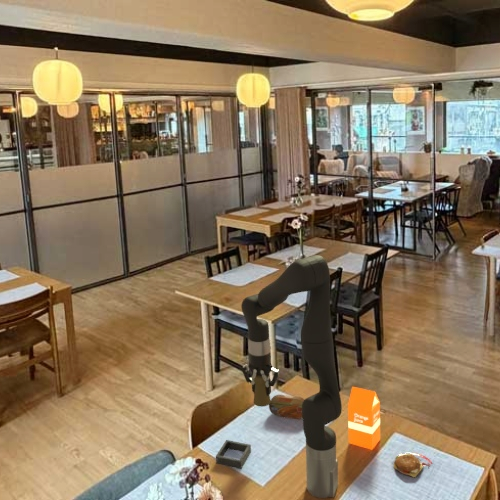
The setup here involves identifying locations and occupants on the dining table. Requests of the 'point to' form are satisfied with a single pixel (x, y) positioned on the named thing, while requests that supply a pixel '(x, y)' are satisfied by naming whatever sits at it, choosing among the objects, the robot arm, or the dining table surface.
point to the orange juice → (364, 418)
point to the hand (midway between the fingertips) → (261, 393)
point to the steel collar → (231, 461)
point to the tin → (286, 406)
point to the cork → (260, 392)
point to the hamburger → (409, 464)
